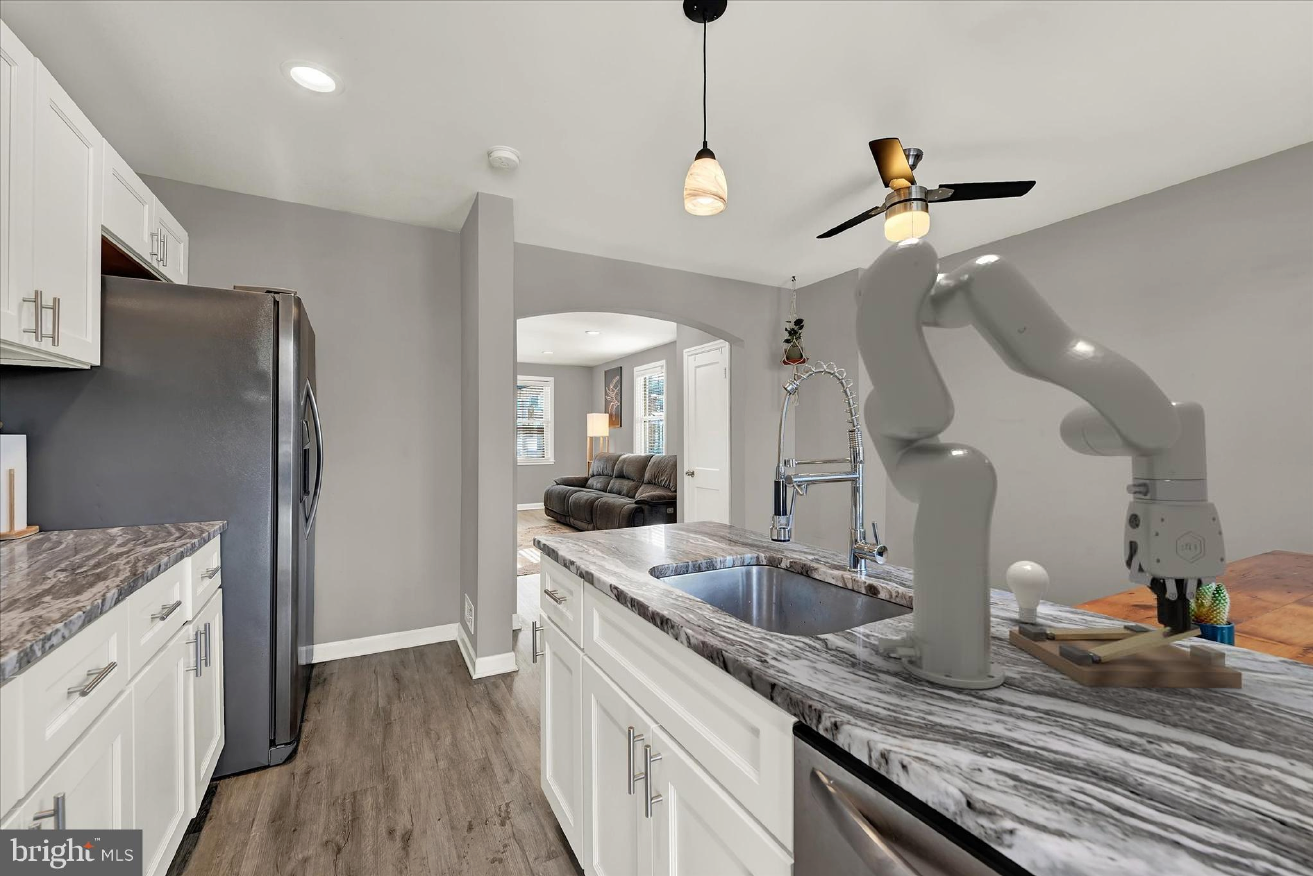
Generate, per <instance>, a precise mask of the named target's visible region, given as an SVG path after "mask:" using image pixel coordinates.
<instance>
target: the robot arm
mask: <svg viewBox="0 0 1313 876" xmlns="http://www.w3.org/2000/svg"><path fill="white" fill-rule="evenodd" d="M853 299H854V302H855V305H856V307H857V310H856V316H855V337H856V343H857V348H858V351H859V354H860V357H861V360H862V362H863V364H864V367H865V370H866V372H867V375H868V378H869V379H870V381H871V385H872V390H871V391H870V392H869V393H868V395H867V397H866V399H865V401H864V405H863V419H864V424H865V426H866V430H867V432H868V435H869V437H870V439H871V441H872V445H873V446H874V448H875V450H876V452H877V455H878V456H879V459H880V461H881V464H882V465H883V468H884V470H885V472H886V475H887V476H888V479H889V481H890V482H891V484H892V485H893V488H894V489H895V490H896V491H897V493H898V494H899V495H900V496H902V497H903V498H904V499H906V500H907V501H910V502H912V503H914V504H917V512H916V515H915V521H914V526H913V534H912V535H913V536H912V580H913V581H912V582H913V583H912V589H913V592H912V594H913V595H912V602H913V603H912V605H913V607H912V608H913V609H912V611H913V613H912V614H913V618H912V620H913V621H912V623H913V625H912V626H913V627H912V629H913V630H912V629H911V630H906V631H905V636H900V638H899V639H898V638H897V639H893V638H883V637H882V638H879V639H878V641H877V645H878V650H879V652H880V653H881V654H883V653H884V654H885V653H886V654H887V653H888V654H891V653H892V654H894V656H895V658H897V659H900V658H901V664H902V666H903V667H904V669H906V670H907V671H908V672H910V673H912V674H913V675H915V676H916V677H920V678H921V679H924V680H926V681H929V682H932V683H936V684H939V685H943V686H948V687H954V688H960V689H967V690H968V689H971V690H973V689H974V690H984V689H990V688H996V687H998V686H1000V685H1002V684H1003V683H1004V681H1005V670H1004V668H1003V667H1002V666H1001V665H1000V664H999V663H998V662H997V661H994V660H993V659H992V658H991V656H992V650H991V649H992V648H991V646H992V642H991V641H992V639H991V638H992V637H991V633H992V632H991V631H992V630H991V628H992V627H991V625H992V624H991V622H992V621H991V620H992V618H991V616H992V614H991V531H992V522H993V521H992V520H993V515H994V514H993V513H994V510H995V509H994V508H995V504H996V499H997V495H998V476H997V473H996V472H997V471H996V469H995V467H994V465H993V463H992V461H991V460H990V459H989V458H988V456H987V455H985V454H984V453H983V452H982V451H981V450H979V449H977V448H976V447H973V446H971V445H968V444H966V443H965V444H964V443H957V442H941V439H940V437H939V435H941V434H942V433H944V432H945V431H946V430H947V429H948V428H949V427H950V426H951V424H952V422H953V420H954V417H955V403H954V399H953V398H952V395H951V393H950V390H949V388H948V386H947V384H946V382H945V380H944V378H943V376H942V374H941V372H940V369H939V367H938V365H937V362H936V361H935V358H934V357H933V354H932V352H931V351H930V348H929V345H928V342H927V340H926V337H925V334H924V330H923V328H933V329H934V328H936V329H947V330H948V329H950V330H951V329H961V328H964V327H968V326H972V327H973V328H974V329H975V330H976V331H977V333H978V334H979V335H980V336H981V337H982V338H983V340H985V342H986V343H987V345H989V346H990V348H991V349H992V350H993V351H994V352H995V353H996V354H997V356H998V357H999V358H1000V360H1001V361H1003V362H1004V364H1005V365H1006V366H1007V367H1008V368H1009V369H1010V370H1011V371H1013V372H1015V373H1017V374H1020V375H1023V376H1025V377H1028V378H1031V379H1035V380H1038V381H1042V382H1045V383H1050V384H1052V385H1055V386H1058V387H1059V388H1060V387H1061V388H1062V389H1065V390H1067V391H1069V392H1070V393H1073V394H1074V395H1075V396H1077V397H1080V398H1081V399H1082V400H1084V401H1085V402H1086V403H1088V404H1084V405H1081V406H1077V407H1075V408H1074V409H1072V410H1070V411H1069V412H1068V413H1067V414H1066V415H1064V417H1063V419H1062V420H1061V422H1060V425H1059V435H1060V438H1061V440H1062V442H1063V443H1064V444H1065V445H1066V447H1068V448H1069V449H1071V450H1072V451H1074V452H1076V453H1079V454H1082V455H1086V456H1093V457H1131V477H1132V478H1131V479H1132V480H1131V481H1132V484H1127V485H1126V488H1125V489H1126V492H1127V493H1128V494H1129V495H1132V500H1131V501H1129V503H1128V507H1127V510H1126V516H1125V517H1126V518H1125V523H1124V525H1125V526H1124V532H1123V533H1124V537H1123V538H1124V539H1123V552H1124V553H1123V557H1124V563H1125V566H1126V568H1127V569H1128V570H1129V574H1128V581H1130V582H1131V583H1135V584H1139V585H1142V586H1145V587H1147V588H1148V590H1150V593H1151V594H1152V595H1154V596H1156V613H1157V614H1156V615H1157V618H1156V619H1157V622H1158V624H1160V625H1162V626H1165V627H1170V628H1173V629H1176V630H1182V629H1184V630H1190V629H1191V624H1192V622H1191V601H1192V600H1194V599H1195V598H1196V596H1197V595H1196V592H1197V591H1198V590H1199V589H1200V588H1201V587H1202V586H1207V585H1209V584H1214V583H1215V582H1216V581H1217V578H1219V577H1221V576H1223V575H1225V573H1226V569H1227V561H1226V560H1227V557H1226V549H1225V541H1224V535H1223V529H1222V524H1221V520H1220V516H1219V513H1218V511H1217V508H1216V505H1215V503H1214V502H1209V500H1208V499H1209V494H1208V493H1209V492H1208V471H1207V470H1208V469H1207V467H1208V466H1207V445H1206V444H1207V442H1206V441H1207V440H1206V438H1207V437H1206V420H1205V416H1206V415H1205V410H1204V408H1203V406H1202V405H1201V404H1200V403H1198V402H1195V401H1190V400H1174V401H1173V400H1172V401H1171V399H1170V398H1168V396H1167V395H1166V394H1165V392H1163V390H1162V389H1161V388H1160V387H1159V386H1158V385H1157V384H1156V382H1155V381H1154V380H1153V378H1151V376H1149V374H1147V373H1146V371H1144V370H1143V369H1142V368H1141V367H1139V365H1137V364H1136V363H1134V362H1133V361H1131V360H1130V359H1129V358H1126V357H1125V356H1124V355H1122V354H1120V353H1118V352H1116V351H1114V350H1112V349H1110V348H1108V347H1107V346H1105V345H1103V344H1101V343H1099V342H1097V341H1095V340H1093V339H1091V338H1089V337H1087V336H1084V335H1082V334H1080V333H1078V332H1076V331H1074V330H1073V329H1072V328H1071V327H1070V326H1069V325H1068V324H1067V323H1066V322H1065V321H1064V320H1063V319H1062V318H1061V316H1060V315H1059V314H1058V313H1057V312H1056V311H1055V310H1054V308H1053V307H1052V306H1051V305H1050V304H1049V303H1048V301H1047V300H1046V299H1045V298H1044V297H1043V296H1042V295H1041V293H1040V292H1039V291H1038V290H1037V289H1036V288H1035V286H1033V284H1031V282H1030V281H1029V280H1028V278H1026V276H1025V275H1024V274H1023V273H1022V272H1021V271H1020V270H1019V269H1018V268H1017V266H1015V264H1014V263H1013V262H1012V261H1010V260H1009V259H1008V258H1006V257H1005V256H1002V255H1001V254H994V253H993V254H991V253H988V254H984V255H980V256H977V257H975V258H972V259H970V260H968V261H967V262H964V263H963V264H961V265H960V266H959V267H956V269H954V270H952V271H951V272H949V273H940V260H939V257H938V253H937V251H936V249H935V248H934V246H933V245H932V244H931V243H930V242H928V241H927V240H925V239H923V238H918V237H908V238H904V239H902V240H899V241H897V242H895V243H893V244H891V245H890V246H888V248H887V249H885V250H884V251H883V252H882V253H881V254H880V255H879V256H878V257H877V258H876V259H875V260H874V261H873V262H872V264H870V265H869V266H868V267H867V268H866V269H865V270H864V271H863V273H862V274H861V275H860V276H859V278H858V279H857V281H856V284H855V287H854V290H853Z"/></svg>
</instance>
